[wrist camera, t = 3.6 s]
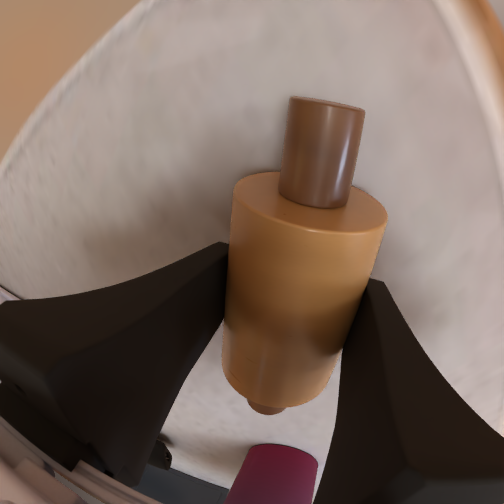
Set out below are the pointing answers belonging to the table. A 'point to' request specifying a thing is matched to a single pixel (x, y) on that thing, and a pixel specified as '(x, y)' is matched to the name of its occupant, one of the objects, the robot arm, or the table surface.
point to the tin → (178, 488)
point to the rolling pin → (298, 260)
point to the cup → (274, 477)
